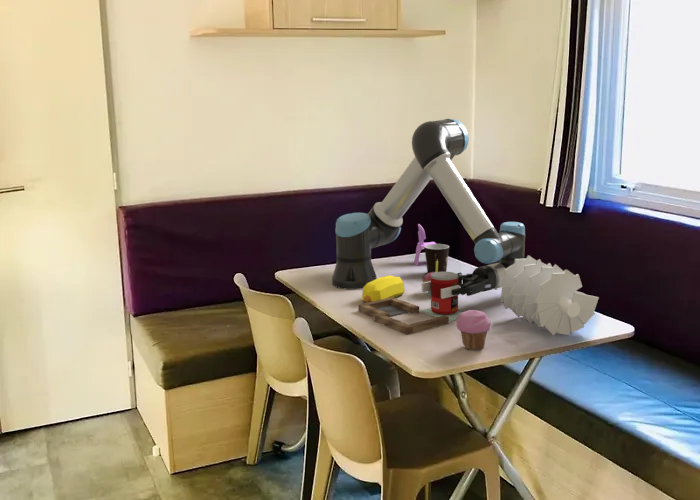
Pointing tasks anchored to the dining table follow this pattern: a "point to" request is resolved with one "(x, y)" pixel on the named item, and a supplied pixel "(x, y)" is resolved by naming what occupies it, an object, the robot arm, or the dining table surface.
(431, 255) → the coffee mug
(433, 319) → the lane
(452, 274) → the canned food
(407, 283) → the dining table surface
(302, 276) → the dining table surface
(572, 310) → the spiral staircase
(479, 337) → the cupcake
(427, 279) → the cupcake
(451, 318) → the pad
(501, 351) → the dining table surface
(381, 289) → the yellow faceted block
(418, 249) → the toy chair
